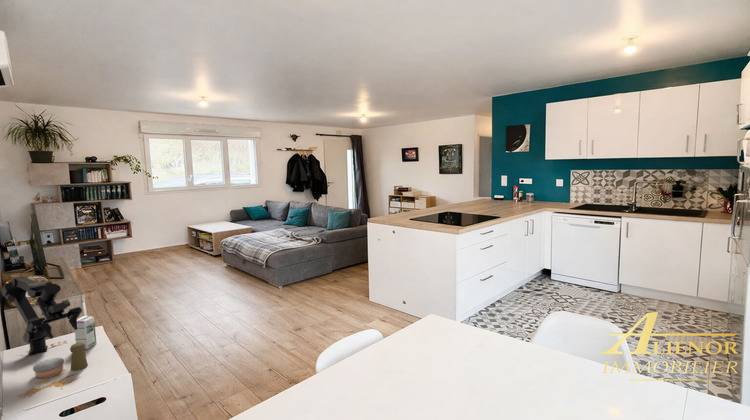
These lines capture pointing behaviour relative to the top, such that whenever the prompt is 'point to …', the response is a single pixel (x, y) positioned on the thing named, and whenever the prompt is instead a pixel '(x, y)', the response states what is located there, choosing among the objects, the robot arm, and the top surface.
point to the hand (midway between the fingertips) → (64, 333)
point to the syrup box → (86, 331)
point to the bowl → (49, 372)
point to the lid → (48, 364)
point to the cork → (78, 357)
